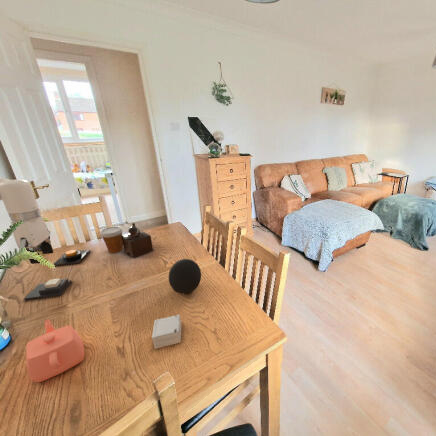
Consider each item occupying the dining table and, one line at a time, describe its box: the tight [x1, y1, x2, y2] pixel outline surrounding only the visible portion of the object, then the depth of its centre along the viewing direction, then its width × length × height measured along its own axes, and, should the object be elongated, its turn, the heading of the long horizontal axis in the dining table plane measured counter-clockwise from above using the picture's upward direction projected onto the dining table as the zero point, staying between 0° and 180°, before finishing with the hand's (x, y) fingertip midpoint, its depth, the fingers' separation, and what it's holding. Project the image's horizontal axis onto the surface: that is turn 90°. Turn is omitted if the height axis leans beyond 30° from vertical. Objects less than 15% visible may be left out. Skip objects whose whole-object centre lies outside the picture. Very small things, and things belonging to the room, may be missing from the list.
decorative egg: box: [168, 258, 202, 295], centre depth 98 cm, size 12×12×15 cm
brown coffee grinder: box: [121, 222, 154, 259], centre depth 123 cm, size 16×11×18 cm
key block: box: [53, 249, 91, 267], centre depth 118 cm, size 10×12×3 cm
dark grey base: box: [23, 278, 72, 302], centre depth 96 cm, size 11×9×3 cm
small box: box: [151, 314, 182, 350], centre depth 79 cm, size 8×8×5 cm
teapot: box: [25, 319, 85, 383], centre depth 68 cm, size 12×18×10 cm, turn 46°
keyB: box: [64, 249, 77, 256], centre depth 118 cm, size 4×4×2 cm
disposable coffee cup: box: [99, 226, 124, 254], centre depth 126 cm, size 10×10×12 cm
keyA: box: [44, 278, 62, 288], centre depth 96 cm, size 4×4×2 cm
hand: (42, 257), depth 92 cm, fingers open, 6 cm apart
